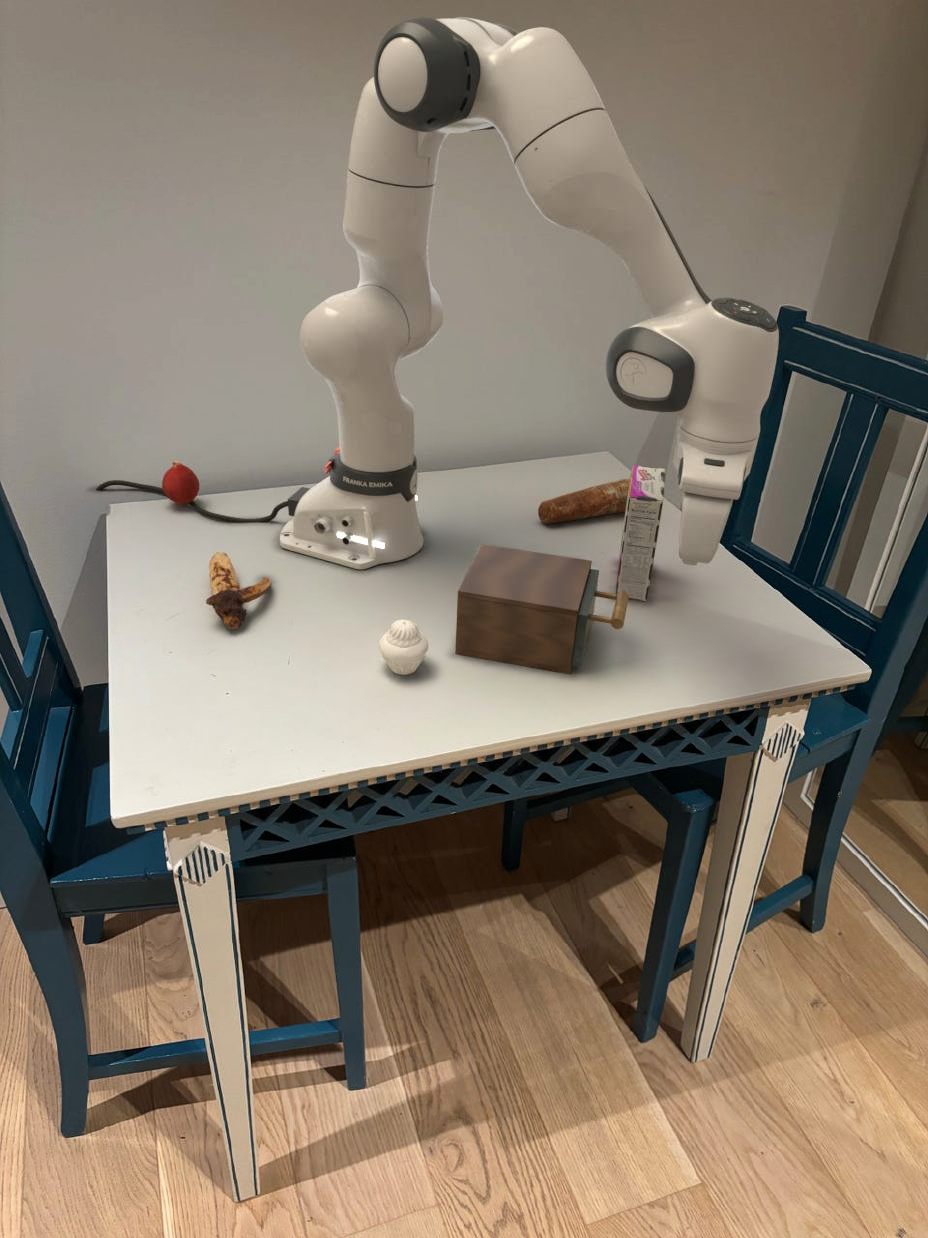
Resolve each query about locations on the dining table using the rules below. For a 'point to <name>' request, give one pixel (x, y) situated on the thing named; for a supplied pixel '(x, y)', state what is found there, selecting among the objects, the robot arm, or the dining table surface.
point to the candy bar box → (640, 531)
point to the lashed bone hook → (231, 591)
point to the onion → (180, 484)
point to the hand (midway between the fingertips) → (689, 559)
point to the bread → (586, 503)
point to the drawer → (587, 615)
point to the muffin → (403, 647)
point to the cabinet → (521, 607)
